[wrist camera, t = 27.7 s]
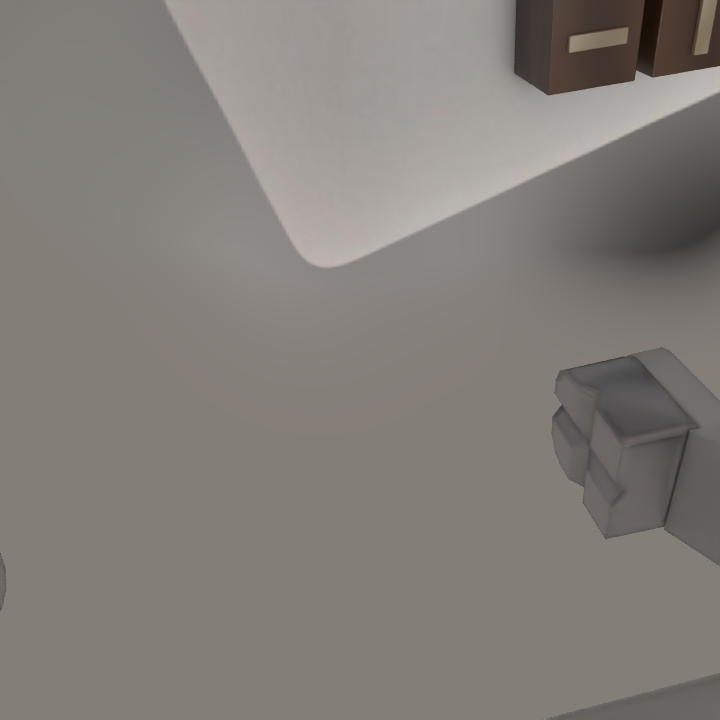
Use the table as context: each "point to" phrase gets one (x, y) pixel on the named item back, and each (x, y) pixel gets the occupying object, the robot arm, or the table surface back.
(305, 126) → the table surface
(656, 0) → the word
